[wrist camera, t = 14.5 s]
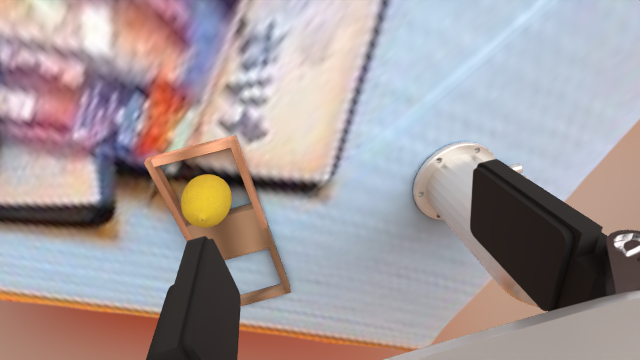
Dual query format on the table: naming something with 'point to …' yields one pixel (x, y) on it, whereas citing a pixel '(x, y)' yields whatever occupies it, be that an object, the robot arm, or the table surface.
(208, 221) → the lemon
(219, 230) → the wooden frame
